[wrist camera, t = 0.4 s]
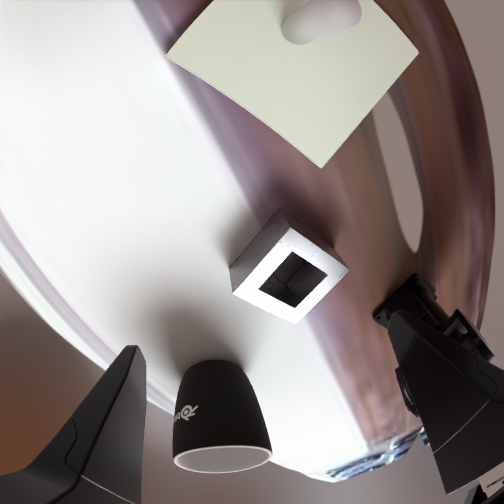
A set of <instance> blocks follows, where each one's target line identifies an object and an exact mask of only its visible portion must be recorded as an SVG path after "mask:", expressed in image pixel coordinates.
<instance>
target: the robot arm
mask: <svg viewBox="0 0 504 504" xmlns="http://www.w3.org/2000/svg"><path fill="white" fill-rule="evenodd" d="M436 299H437V296H436V294H435V293H434V292H433V291H432V290H431V289H430V288H429V287H428V286H427V284H426V283H425V282H424V281H423V280H422V279H421V278H420V277H419V276H418V275H417V274H414V275H413V276H411V278H410V279H409V280H408V281H407V282H406V283H405V284H404V285H403V286H402V287H401V288H400V289H399V290H398V291H397V292H396V293H395V294H394V295H393V296H392V297H391V298H390V299H389V300H388V301H387V302H386V303H385V304H384V305H383V306H382V307H381V308H380V309H379V310H378V311H377V312H376V313H375V314H374V315H373V319H374V321H375V322H377V323H379V324H380V325H382V326H384V327H385V328H387V329H388V335H389V338H390V341H391V344H392V347H393V350H394V353H395V356H396V359H397V362H398V365H399V367H397V368H396V369H395V372H396V375H397V380H398V383H399V386H400V389H401V392H402V395H403V398H404V402H405V405H406V407H407V409H408V411H411V412H412V413H413V414H414V415H415V416H416V417H417V418H419V419H421V421H422V424H423V426H424V429H425V432H426V434H427V437H428V440H429V443H430V446H431V448H432V451H433V453H434V457H435V461H436V464H437V466H438V470H439V472H440V476H441V479H442V482H443V486H444V489H445V492H446V495H448V494H450V493H452V492H454V491H456V490H458V489H460V488H462V487H464V486H465V485H467V484H469V483H471V482H473V481H474V480H476V479H478V480H479V482H480V483H479V484H478V485H476V486H475V487H473V488H472V489H470V490H469V493H468V495H467V498H466V501H465V503H464V504H504V370H502V369H500V368H498V367H497V366H495V365H493V363H492V362H491V359H492V358H493V357H494V356H495V355H494V353H493V351H492V350H491V348H490V347H489V345H488V344H487V342H486V341H485V339H484V338H483V336H482V335H481V333H480V332H479V331H478V330H477V329H476V327H475V326H474V325H473V324H472V323H471V321H470V320H469V319H468V318H467V317H466V316H465V315H464V314H463V313H462V312H461V311H460V310H459V309H456V310H455V311H454V314H453V315H452V316H451V317H449V316H448V315H447V314H446V312H445V311H444V310H443V309H442V308H441V306H440V305H439V304H438V303H437V302H436ZM466 331H468V332H467V333H466V334H464V333H465V332H466ZM145 415H146V361H145V359H144V357H143V354H142V352H141V350H140V348H139V346H137V345H127V346H126V347H125V348H124V349H123V350H122V351H121V353H120V354H119V355H118V356H117V358H116V359H115V360H114V361H113V363H112V364H111V365H110V366H109V368H108V369H107V370H106V371H105V373H104V374H103V375H102V376H101V378H100V379H99V380H98V381H97V383H96V384H95V385H94V387H93V388H92V389H91V391H90V392H89V393H88V394H87V396H86V397H85V398H84V400H83V401H82V402H81V403H80V405H79V406H78V407H77V409H76V410H75V411H74V413H73V414H72V416H71V417H70V418H69V419H68V420H67V422H66V423H65V424H64V426H63V427H62V428H61V430H60V431H59V432H58V433H57V434H56V436H55V437H54V438H53V439H52V440H51V441H50V442H49V444H48V445H47V446H46V447H45V448H44V449H43V450H42V451H41V452H40V453H39V454H38V455H37V457H36V458H35V459H34V460H33V461H32V462H31V463H30V464H29V465H28V466H26V467H25V468H23V469H21V470H19V471H16V472H12V473H9V474H5V475H1V476H0V504H141V477H142V456H143V440H144V427H145Z"/></svg>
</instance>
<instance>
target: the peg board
mask: <svg viewBox="0 0 504 504" xmlns="http://www.w3.org/2000/svg"><path fill="white" fill-rule="evenodd" d="M418 53H419V52H418V50H417V49H416V48H415V47H414V45H413V44H412V43H411V42H410V40H409V39H408V38H407V37H406V36H405V34H404V33H403V32H402V31H401V30H400V29H399V27H398V26H397V25H396V24H395V23H394V22H393V21H392V20H391V19H390V17H389V16H388V15H387V14H386V13H385V12H384V11H383V10H382V9H381V8H380V7H379V6H378V5H377V4H376V3H375V2H374V1H373V0H214V1H213V2H212V3H211V4H210V5H209V6H208V7H207V8H206V9H205V10H204V11H203V12H202V13H201V14H200V15H199V16H198V18H197V19H196V20H195V21H194V22H193V23H192V24H191V25H190V27H189V28H188V29H187V30H186V31H185V32H184V33H183V35H182V36H181V37H180V38H179V39H178V41H177V42H176V43H175V44H174V46H173V47H172V48H171V49H170V51H169V52H168V53H167V54H166V56H165V57H166V58H167V59H169V60H171V61H172V62H174V63H176V64H177V65H179V66H181V67H182V68H184V69H186V70H187V71H189V72H191V73H192V74H194V75H195V76H197V77H199V78H200V79H202V80H203V81H205V82H206V83H208V84H209V85H211V86H212V87H214V88H215V89H217V90H218V91H220V92H221V93H223V94H224V95H226V96H227V97H229V98H230V99H232V100H233V101H234V102H236V103H237V104H239V105H240V106H242V107H243V108H244V109H246V110H247V111H249V112H250V113H251V114H253V115H254V116H255V117H257V118H258V119H259V120H261V121H262V122H263V123H265V124H266V125H267V126H269V127H270V128H271V129H273V130H274V131H275V132H276V133H278V134H279V135H280V136H282V137H283V138H284V139H285V140H287V141H288V142H289V143H290V144H292V145H293V146H294V147H295V148H297V149H298V150H299V151H300V152H301V153H303V154H304V155H305V156H306V157H307V158H309V159H310V160H311V161H312V162H313V163H315V164H316V165H317V166H318V167H320V168H322V167H323V166H324V165H325V164H326V162H327V161H328V160H329V159H330V158H331V157H332V155H333V154H334V153H335V152H336V151H337V149H338V148H339V147H340V146H341V145H342V143H343V142H344V141H345V140H346V139H347V138H348V136H349V135H350V134H351V133H352V132H353V130H354V129H355V128H356V127H357V126H358V125H359V123H360V122H361V121H362V120H363V119H364V117H365V116H366V115H367V114H368V113H369V111H370V110H371V109H372V108H373V107H374V106H375V104H376V103H377V102H378V101H379V99H380V98H381V97H382V96H383V95H384V94H385V92H386V91H387V90H388V89H389V88H390V87H391V85H392V84H393V83H394V82H395V81H396V79H397V78H398V77H399V76H400V75H401V74H402V72H403V71H404V70H405V69H406V68H407V66H408V65H409V64H410V63H411V62H412V61H413V59H414V58H415V57H416V56H417V55H418Z"/></svg>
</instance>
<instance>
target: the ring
mask: <svg viewBox="0 0 504 504" xmlns="http://www.w3.org/2000/svg"><path fill="white" fill-rule="evenodd" d="M292 251H293V252H294V253H296V254H297V255H299V256H301V257H302V258H304V259H305V260H307V262H306V263H305V264H304V265H303V266H302V267H301V268H300V269H299V270H298V271H297V272H296V274H295V275H294V276H293V277H292V278H291V279H290V280H289V281H288V282H287V283H286V284H284V283H282V282H280V281H279V280H277V279H275V278H273V277H271V276H270V275H271V274H272V273H273V272H274V271H275V270H276V268H277V267H278V266H279V265H280V264H281V263H282V262H283V261H284V260H285V258H286V257H287V256H288V255H289V254H290V253H291V252H292ZM348 271H349V268H348V267H347V265H346V264H345V263H344V261H343V260H342V258H341V257H340V256H339V254H338V253H337V252H336V250H335V249H334V248H333V247H331V246H330V245H329V244H327V243H326V242H325V241H323V240H322V239H321V238H319V237H318V236H317V235H315V234H314V233H313V232H311V231H310V230H309V229H307V228H306V227H304V226H303V225H302V224H300V223H299V222H298V221H296V220H295V219H293V218H292V217H291V216H289V215H288V214H286V213H285V212H284V211H282V210H281V209H278V211H277V212H276V213H275V214H274V215H273V217H272V218H271V219H270V220H269V221H268V223H267V224H266V225H265V226H264V227H263V229H262V230H261V231H260V232H259V233H258V235H257V236H256V237H255V238H254V240H253V241H252V242H251V243H250V244H249V246H248V247H247V248H246V249H245V250H244V252H243V253H242V254H241V255H240V256H239V258H238V259H237V260H236V261H235V262H234V264H233V265H232V266H231V267H230V268H229V272H230V279H231V285H232V292H233V294H234V295H236V296H238V297H240V298H242V299H244V300H246V301H248V302H250V303H252V304H254V305H256V306H258V307H260V308H262V309H265V310H267V311H269V312H271V313H273V314H275V315H277V316H279V317H281V318H284V319H286V320H288V321H290V322H292V323H294V324H296V323H297V322H298V321H299V320H300V319H301V318H302V317H303V316H304V315H305V314H306V313H307V312H309V311H310V310H311V309H312V308H313V307H314V306H315V305H316V304H317V303H318V302H319V301H320V300H321V299H322V298H323V297H324V296H325V295H326V294H327V293H328V292H329V291H330V290H331V289H332V288H333V287H334V286H335V285H336V284H337V283H338V282H339V281H340V280H341V279H342V278H343V277H344V275H345V274H346V273H347V272H348Z"/></svg>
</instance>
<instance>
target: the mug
mask: <svg viewBox="0 0 504 504" xmlns="http://www.w3.org/2000/svg"><path fill="white" fill-rule="evenodd" d="M271 457H272V448H271V443H270V439H269V435H268V432H267V428H266V425H265V421H264V418H263V415H262V412H261V408H260V405H259V403H258V400H257V397H256V394H255V392H254V390H253V387H252V385H251V383H250V381H249V379H248V377H247V376H246V374H245V373H244V372H243V370H242V369H241V368H239V367H238V366H237V365H235V364H233V363H230V362H227V361H220V360H211V361H204V362H201V363H198V364H195V365H194V366H192V367H191V368H189V369H188V370H187V372H186V373H185V374H184V376H183V378H182V380H181V383H180V387H179V390H178V395H177V400H176V407H175V415H174V425H173V460H174V463H175V464H176V465H178V466H179V467H181V468H184V469H187V470H191V471H195V472H203V473H228V472H236V471H242V470H247V469H250V468H254V467H256V466H259V465H261V464H264V463H265V462H267V461H268V460H269V459H270V458H271Z"/></svg>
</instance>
